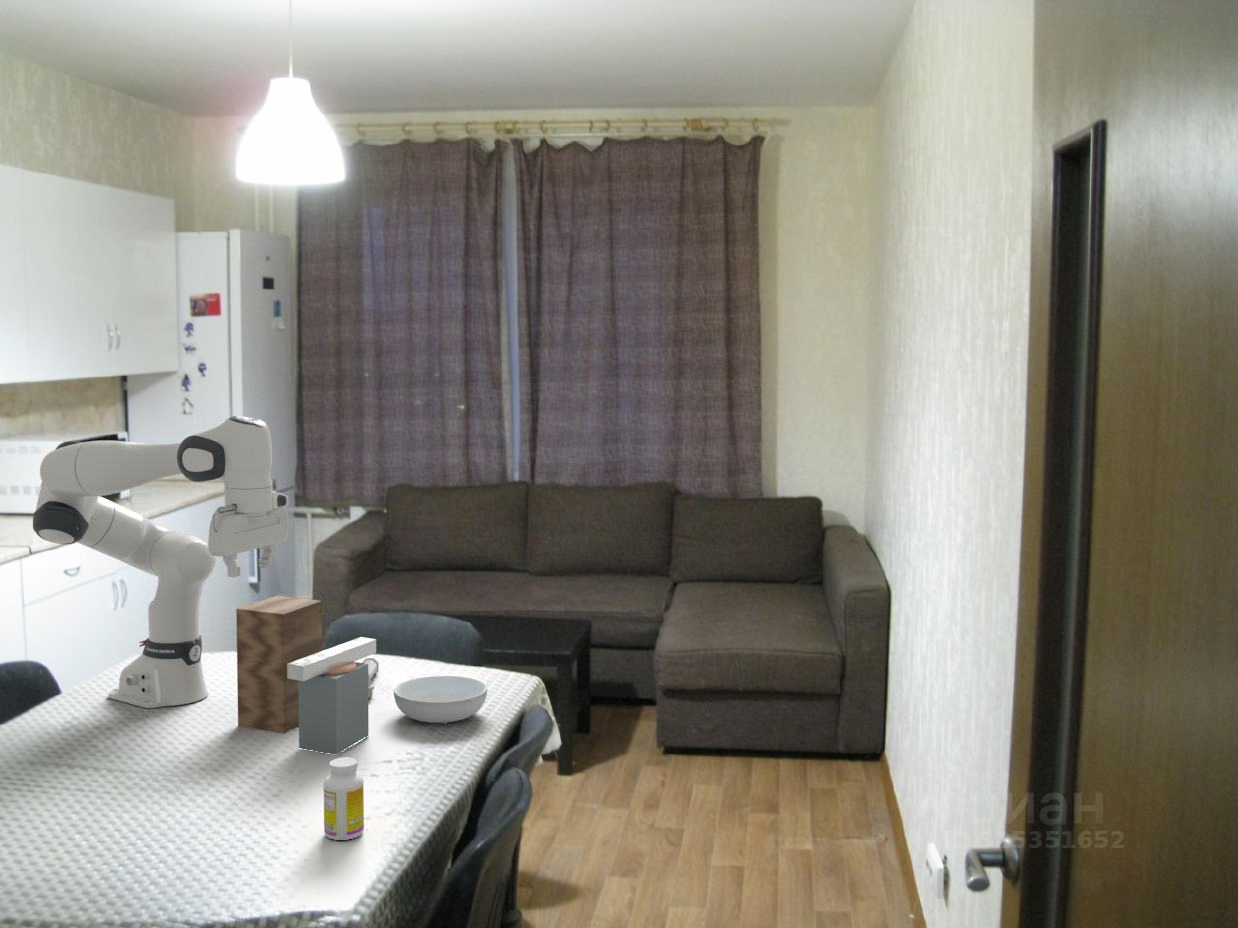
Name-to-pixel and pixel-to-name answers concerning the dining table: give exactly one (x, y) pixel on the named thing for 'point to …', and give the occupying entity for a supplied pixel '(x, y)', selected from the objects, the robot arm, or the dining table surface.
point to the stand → (274, 659)
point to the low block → (334, 709)
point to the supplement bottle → (343, 800)
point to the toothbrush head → (371, 672)
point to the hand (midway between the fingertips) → (249, 571)
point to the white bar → (331, 659)
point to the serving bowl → (440, 698)
